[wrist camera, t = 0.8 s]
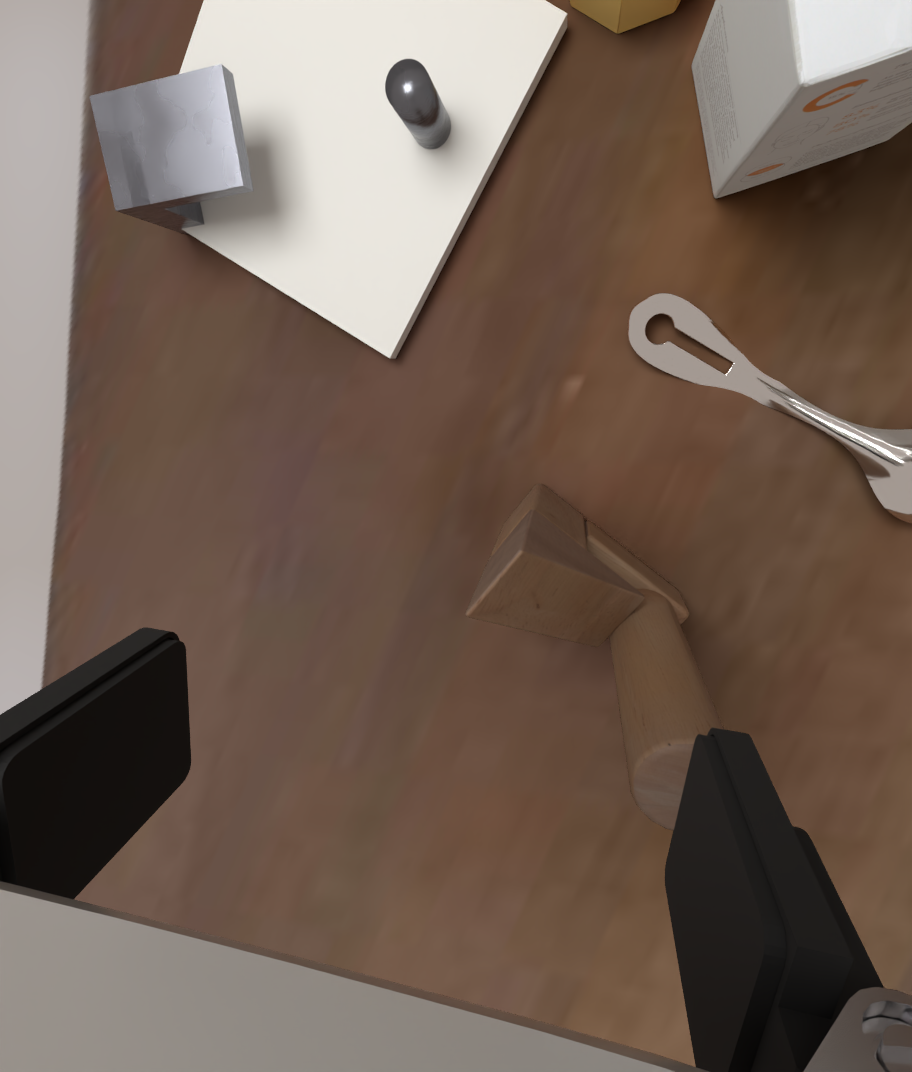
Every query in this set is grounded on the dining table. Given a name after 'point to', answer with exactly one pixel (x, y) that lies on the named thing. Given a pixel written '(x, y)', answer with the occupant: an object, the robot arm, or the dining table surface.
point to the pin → (418, 103)
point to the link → (625, 11)
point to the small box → (799, 84)
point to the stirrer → (774, 396)
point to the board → (364, 142)
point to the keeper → (173, 145)
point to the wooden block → (606, 634)
